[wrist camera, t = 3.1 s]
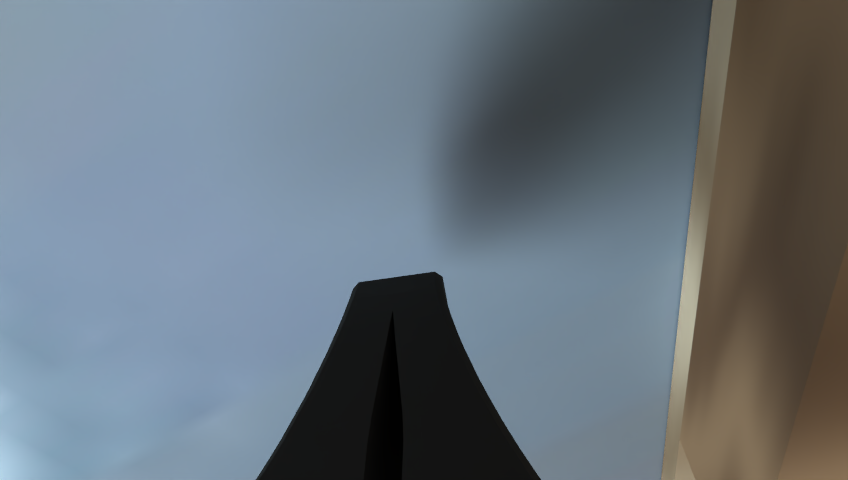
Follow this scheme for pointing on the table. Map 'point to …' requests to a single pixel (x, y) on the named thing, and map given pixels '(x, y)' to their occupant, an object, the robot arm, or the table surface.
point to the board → (698, 228)
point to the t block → (776, 256)
